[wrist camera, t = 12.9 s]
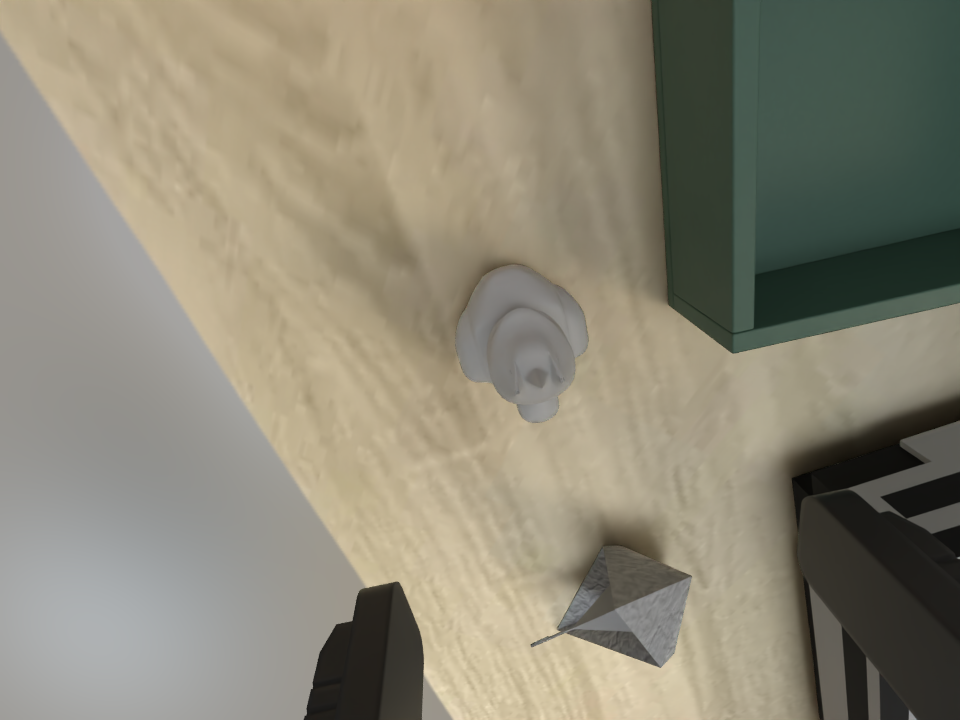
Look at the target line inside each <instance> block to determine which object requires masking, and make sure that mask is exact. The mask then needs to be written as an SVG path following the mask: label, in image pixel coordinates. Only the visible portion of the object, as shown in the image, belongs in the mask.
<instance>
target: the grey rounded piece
mask: <svg viewBox="0 0 960 720" xmlns="http://www.w3.org/2000/svg"><path fill="white" fill-rule="evenodd" d="M588 340H589V338H588V332H587V327H586V321H585V316H584V313H583V311H582V309H581V307H580V306H579V304H578V303H577V302H576V301H575V299H574V298H573V297H572V296H571V295H570V294H569V293H568V292H567V291H566V290H565V289H563V288H562V287H560V286H558V285H555V284H553V283H551V282H550V281H549V280H547V279H546V278H545V277H543V276H542V275H540V274H539V273H537V272H536V271H534V270H532V269H530V268H528V267H526V266H524V265H516V264H512V265H506V266H503V267H499V268H496V269H494V270H492V271H490V272H489V273H487V274H486V275H484V276H483V277H482V279H481V280H480V281H479V283H478V285H477V286H476V288H475V289H474V291H473V293H472V295H471V297H470V299H469V303H468V305H467V307H466V308H465V310H464V311H463V313H462V314H461V316H460V319H459V321H458V325H457V329H456V337H455V347H456V352H457V355H458V358H459V361H460V364H461V368H462V370H463V373H464V374H465V376H466V377H467V378H468V379H470V380H471V381H474V382H488V383H492V384H493V385H494V387H495V389H496V390H497V392H498V393H499V394H500V395H501V396H502V398H504V399H505V400H507V401H508V402H512V403H515V404H517V408H518V411H519V413H520V415H521V417H522V418H523V419H524V420H526V421H528V422H532V423H540V422H544V421H547V420H549V419H551V418H552V417H553V416H555V415H556V413H557V412H558V409H559V400H558V395H560V394H561V393H562V392H564V391H565V390H566V389H567V388H568V387H569V386H570V385H571V383H572V381H573V379H574V375H575V366H576V364H575V358H576V357H578V356H580V355H581V354H583V353H584V352H585V350H586V349H587V346H588Z"/></svg>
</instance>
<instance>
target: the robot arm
mask: <svg viewBox="0 0 960 720" xmlns="http://www.w3.org/2000/svg"><path fill="white" fill-rule="evenodd" d="M797 558H798V562H799V565H800V568H801V571H802V573H803V575H804V577H805V579H806V580H807V582H808V584H809V585H810V586H811V588H812V589H813V590H814V592H815V593H816V594H817V595H818V597H819V598H820V599H821V600H822V602H823V603H824V604H825V605H826V607H827V608H828V609H829V610H830V612H831V613H832V614H833V615H834V617H835V618H836V619H837V620H838V622H839V623H840V624H841V625H842V627H843V628H844V629H845V630H846V632H847V633H848V634H849V635H850V637H851V638H852V639H853V640H854V642H855V643H856V644H857V645H858V647H859V648H860V649H861V650H862V652H863V653H864V654H865V655H866V657H867V658H868V659H869V660H870V662H871V663H872V664H873V665H874V667H875V668H876V669H877V670H878V672H879V673H880V674H881V675H882V677H883V678H884V679H885V680H886V682H887V683H888V684H889V685H890V687H891V688H892V689H893V690H894V692H895V693H896V694H897V695H898V697H899V698H900V699H901V700H902V702H903V703H904V704H905V705H906V707H907V708H908V709H909V710H910V712H911V713H912V714H913V715H914V717H915V718H916V719H917V720H960V559H958V558H957V557H956V556H955V553H954V552H953V551H951V550H950V549H949V548H948V547H947V546H945V545H944V544H943V543H942V542H941V541H939V540H938V539H937V538H936V537H935V536H933V535H932V534H931V533H930V532H929V531H927V530H926V529H925V528H923V527H921V526H919V525H917V524H915V523H913V522H911V521H909V520H907V519H905V518H903V517H901V516H899V515H897V514H895V513H893V512H891V511H886V512H881V513H879V512H878V511H876V510H875V509H874V508H873V507H872V506H871V505H870V504H869V503H867V502H866V501H865V500H864V499H863V498H862V497H861V496H859V495H858V494H857V493H856V492H854V491H852V490H849V489H841V490H837V491H832V492H827V493H822V494H818V495H813V496H808V497H805V498H804V499H803V500H802V503H801V512H800V523H799V534H798V545H797ZM423 670H424V655H423V645H422V639H421V635H420V631H419V628H418V625H417V623H416V621H415V618H414V616H413V613H412V611H411V608H410V606H409V604H408V601H407V599H406V596H405V594H404V591H403V589H402V587H401V585H400V583H399V582H393V583H388V584H383V585H379V586H374V587H369V588H364V589H361V590H360V591H359V593H358V596H357V600H356V605H355V611H354V616H353V621H351V622H346V623H341V624H337V625H336V626H335V628H334V629H333V631H332V633H331V635H330V636H329V638H328V640H327V641H326V643H325V645H324V646H323V648H322V650H321V651H320V654H319V658H318V662H317V667H316V671H315V675H314V679H313V689H311V692H310V696H309V701H308V705H307V715H306V716H305V718H304V720H422V696H423Z"/></svg>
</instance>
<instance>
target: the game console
mask: <svg viewBox="0 0 960 720" xmlns="http://www.w3.org/2000/svg"><path fill="white" fill-rule="evenodd" d="M792 483H793V492H794V500H795V509H796V518H797V526H798V534H799V523H800V512H801V503H802V500H803V499H804V498H805V497H808V496H813V495H818V494H822V493H827V492H832V491H837V490H841V489H849V490H852V491H854V492H856V493H857V494H858V495H859V496H861V497H862V498H863V499H864V500H865V501H866V502H867V503H869V504H870V505H871V506H872V507H873V508H874V509H875V510H876V511H878V512H879V513H881V512H886V511H891V512H893V513H895V514H897V515H899V516H901V517H903V518H905V519H907V520H909V521H911V522H913V523H915V524H917V525H919V526H921V527H923V528H925V529H926V530H927V531H929V532H930V533H931V534H932V535H933V536H935V537H936V538H937V539H938V540H939V541H941V542H942V543H943V544H944V545H945V546H947V547H948V548H949V549H950V550H951V551H953V552H954V553H955V556H956V557H957V558H958V559H960V421H957V422H954V423H951V424H948V425H945V426H942V427H939V428H936V429H933V430H930V431H927V432H923V433H920V434H917V435H914V436H911V437H908V438H905V439H902V440H900V444H897V445H894V446H890V447H887V448H884V449H881V450H878V451H875V452H872V453H869V454H866V455H863V456H860V457H857V458H853V459H850V460H847V461H844V462H841V463H838V464H835V465H832V466H829V467H826V468H823V469H820V470H816V471H813V472H810V473H807V474H804V475H801V476H798V477H795V478H792ZM803 578H804V586H805V595H806V604H807V612H808V621H809V629H810V638H811V647H812V655H813V664H814V672H815V681H816V690H817V698H818V707H819V715H820V719H821V720H917V719H916V718H915V717H914V715H913V714H912V713H911V712H910V710H909V709H908V708H907V707H906V705H905V704H904V703H903V702H902V700H901V699H900V698H899V697H898V695H897V694H896V693H895V692H894V690H893V689H892V688H891V687H890V685H889V684H888V683H887V682H886V680H885V679H884V678H883V677H882V675H881V674H880V673H879V672H878V670H877V669H876V668H875V667H874V665H873V664H872V663H871V662H870V660H869V659H868V658H867V657H866V655H865V654H864V653H863V652H862V650H861V649H860V648H859V647H858V645H857V644H856V643H855V642H854V640H853V639H852V638H851V637H850V635H849V634H848V633H847V632H846V630H845V629H844V628H843V627H842V625H841V624H840V623H839V622H838V620H837V619H836V618H835V617H834V615H833V614H832V613H831V612H830V610H829V609H828V608H827V607H826V605H825V604H824V603H823V602H822V600H821V599H820V598H819V597H818V595H817V594H816V593H815V592H814V590H813V589H812V588H811V586H810V585H809V584H808V582H807V580H806V579H805V577H804V575H803Z"/></svg>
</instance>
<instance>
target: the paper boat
mask: <svg viewBox="0 0 960 720" xmlns="http://www.w3.org/2000/svg"><path fill="white" fill-rule="evenodd" d="M691 579H692V576H691V575H688V574H686V573H684V572H681V571H679V570H677V569H674V568H672V567H670V566H667V565H665V564H663V563H660V562H658V561H656V560H654V559H651V558H649V557H647V556H644V555H642V554H640V553H637V552H635V551H633V550H630V549H628V548H626V547H623V546H621V545H619V546H603V547H602V549H601V551H600V552H599V554H598V556H597V558H596V560H595V561H594V563H593V565H592V567H591V569H590V571H589V572H588V574H587V576H586V578H585V580H584V581H583V583H582V585H581V587H580V589H579V591H578V592H577V594H576V596H575V598H574V600H573V602H572V603H571V605H570V607H569V609H568V611H567V612H566V614H565V616H564V618H563V620H562V622H561V623H560V625H559V627H558V629H557V630H559V631H562V632H559V633H557V634H555V635H553V636H550V637H549V636H547V637H545V638H543V639H541V640H539V641H537V642H534V643H532V644H531V647H534V646H536V645H539V644H541V643H543V642H545V641H548V640H550V639H552V638H555V637H557V636H559V635H562V634H564V633H567V634H570V635H573V636H575V637H578V638H581V639H583V640H586V641H589V642H592V643H594V644H597V645H600V646H603V647H605V648H608V649H611V650H613V651H616V652H619V653H622V654H624V655H627V656H630V657H633V658H635V659H638V660H641V661H644V662H646V663H649V664H652V665H654V666H657V667H660V668H661V667H662V666H663V665H664V664H665V663H666V662H667V661H668V659H669V658H670V657H671V656H672V655H673V654H674V652H675V647H676V643H677V639H678V635H679V630H680V626H681V622H682V617H683V613H684V609H685V604H686V600H687V596H688V591H689V587H690V583H691Z"/></svg>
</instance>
